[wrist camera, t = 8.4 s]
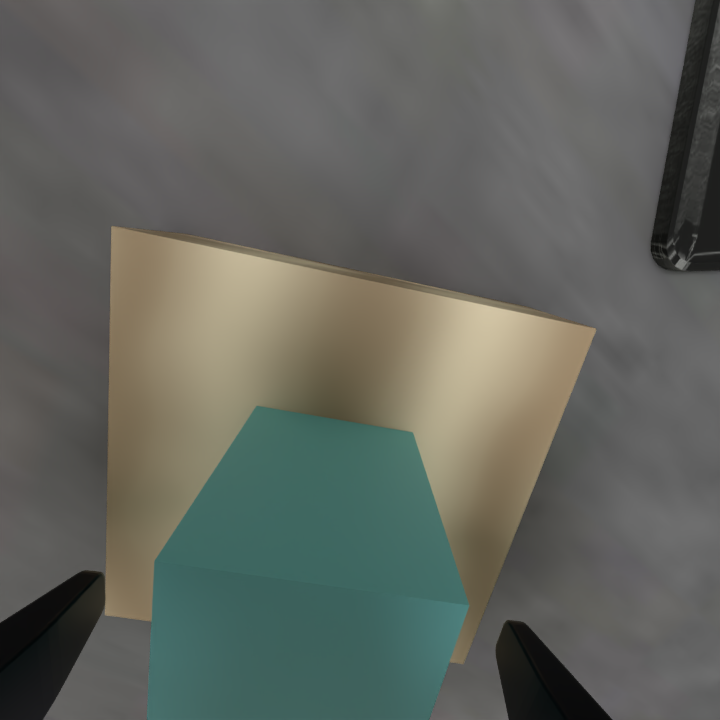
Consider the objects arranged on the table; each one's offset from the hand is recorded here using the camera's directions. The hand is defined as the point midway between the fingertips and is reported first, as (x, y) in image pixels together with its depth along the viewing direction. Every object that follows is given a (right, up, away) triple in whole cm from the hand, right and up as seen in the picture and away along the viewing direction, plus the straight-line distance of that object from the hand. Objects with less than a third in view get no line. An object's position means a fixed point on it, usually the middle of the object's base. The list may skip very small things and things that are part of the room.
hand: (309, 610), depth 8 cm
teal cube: (0, +1, +4) cm, 4 cm away
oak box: (0, +3, +9) cm, 9 cm away
